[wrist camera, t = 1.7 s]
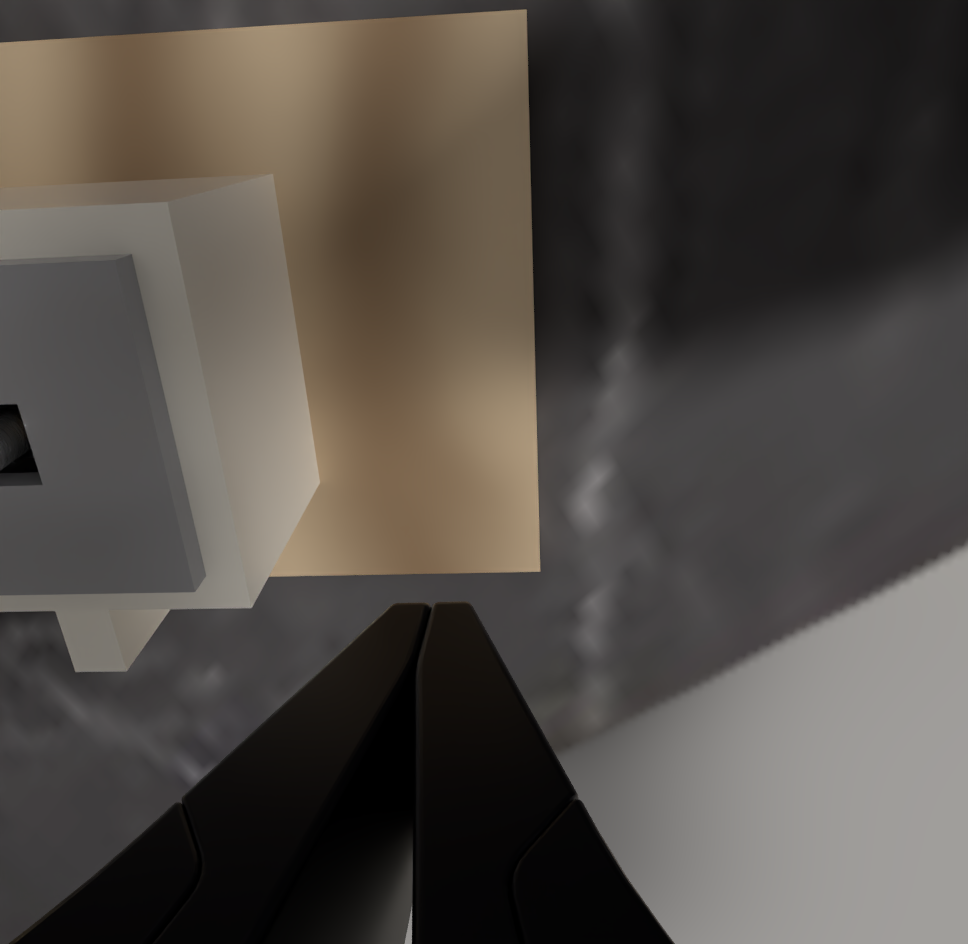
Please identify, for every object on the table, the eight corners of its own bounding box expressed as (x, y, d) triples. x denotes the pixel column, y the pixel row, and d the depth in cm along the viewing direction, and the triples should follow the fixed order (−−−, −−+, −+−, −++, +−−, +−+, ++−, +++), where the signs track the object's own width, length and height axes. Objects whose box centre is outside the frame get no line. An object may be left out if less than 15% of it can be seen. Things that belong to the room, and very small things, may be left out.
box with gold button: (272, 173, 18) (151, 206, 12) (329, 545, 23) (259, 703, 17) (-55, 190, 19) (-322, 229, 13) (60, 550, 23) (-102, 706, 17)
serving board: (526, 13, 18) (526, 9, 17) (539, 557, 23) (540, 571, 23) (-315, 66, 19) (-349, 64, 18) (-103, 569, 25) (-122, 583, 24)
